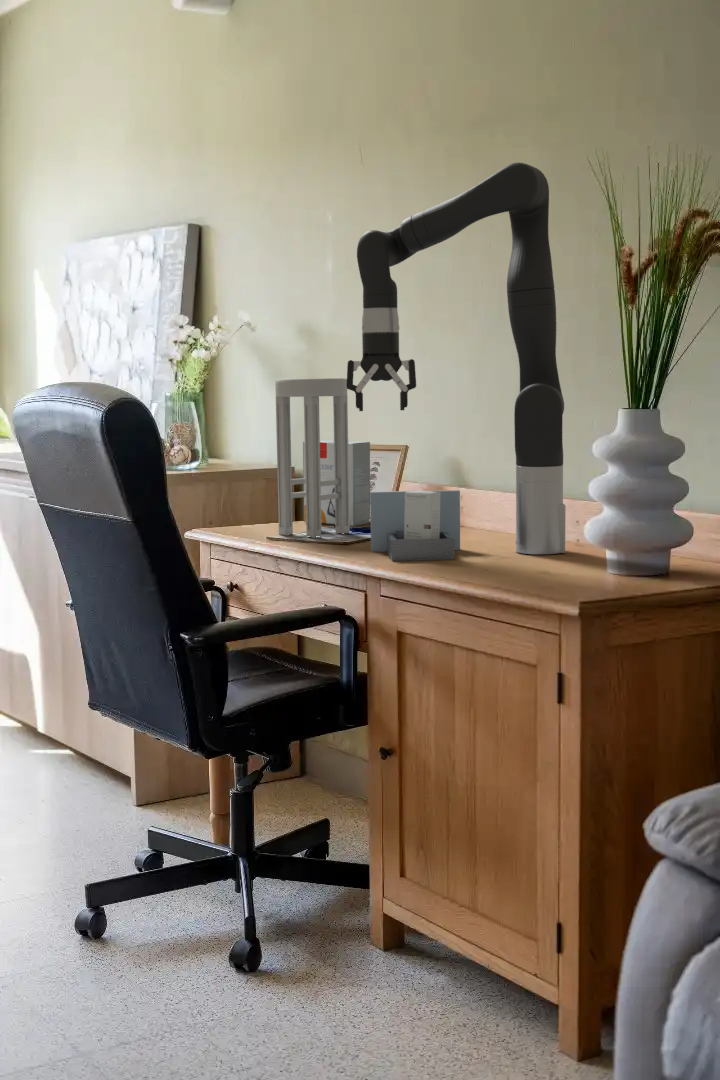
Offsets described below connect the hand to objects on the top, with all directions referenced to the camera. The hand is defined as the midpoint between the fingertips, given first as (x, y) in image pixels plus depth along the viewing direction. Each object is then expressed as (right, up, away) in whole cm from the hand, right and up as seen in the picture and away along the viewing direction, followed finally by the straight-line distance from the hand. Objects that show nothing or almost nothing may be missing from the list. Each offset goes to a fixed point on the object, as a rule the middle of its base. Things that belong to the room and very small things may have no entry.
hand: (381, 410), depth 268 cm
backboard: (+7, -29, -4) cm, 30 cm away
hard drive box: (-10, -23, +49) cm, 55 cm away
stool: (-15, -26, +27) cm, 40 cm away
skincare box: (+8, -29, -13) cm, 33 cm away
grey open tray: (+7, -30, -12) cm, 33 cm away
